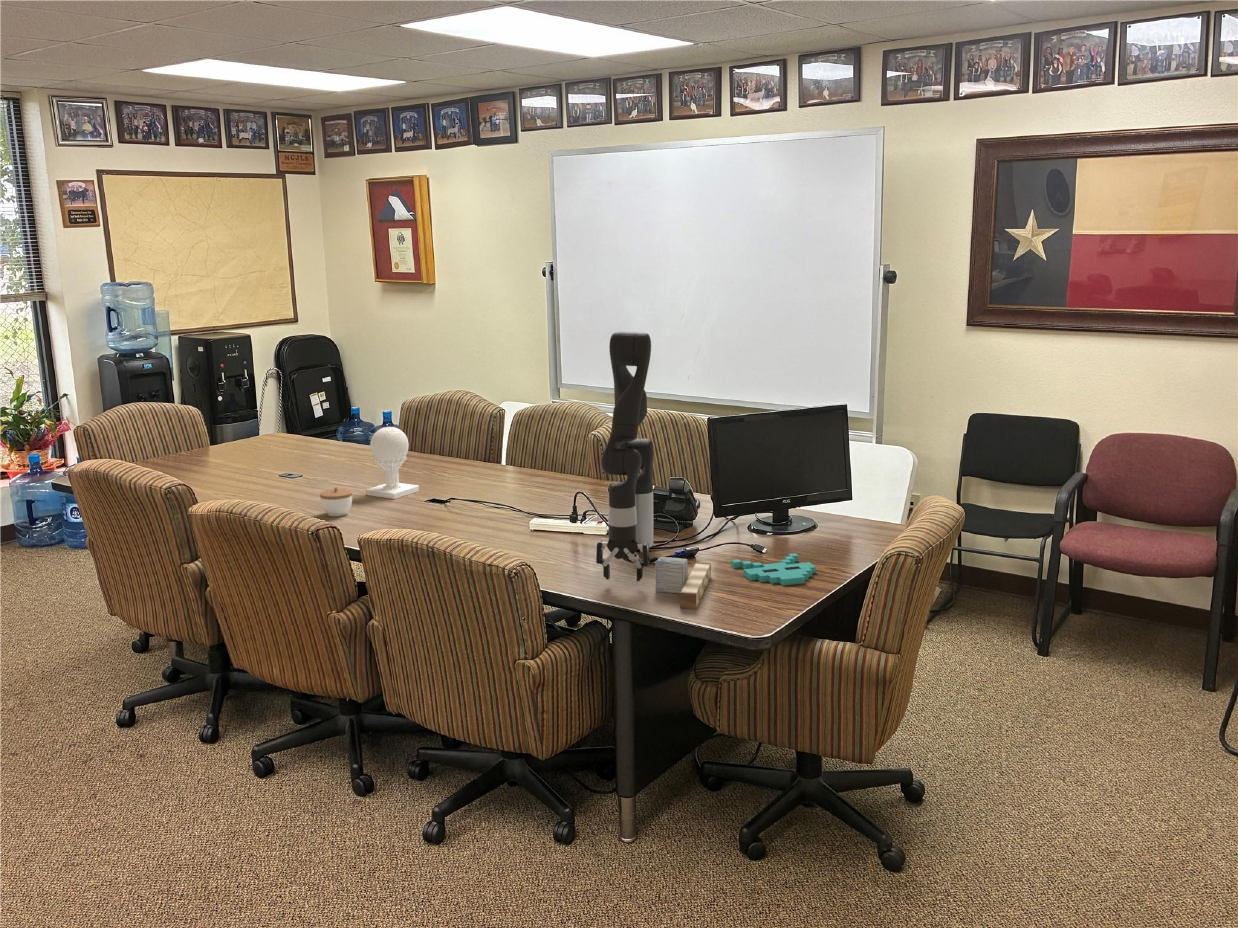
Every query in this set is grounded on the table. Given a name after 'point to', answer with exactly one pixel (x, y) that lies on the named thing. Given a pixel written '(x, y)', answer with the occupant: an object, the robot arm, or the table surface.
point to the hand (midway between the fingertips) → (623, 579)
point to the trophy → (390, 462)
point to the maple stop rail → (695, 585)
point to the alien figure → (777, 570)
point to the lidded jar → (336, 501)
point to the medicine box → (671, 574)
